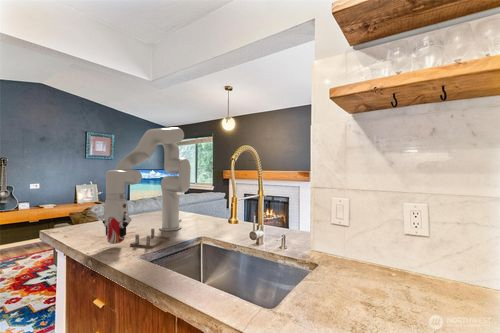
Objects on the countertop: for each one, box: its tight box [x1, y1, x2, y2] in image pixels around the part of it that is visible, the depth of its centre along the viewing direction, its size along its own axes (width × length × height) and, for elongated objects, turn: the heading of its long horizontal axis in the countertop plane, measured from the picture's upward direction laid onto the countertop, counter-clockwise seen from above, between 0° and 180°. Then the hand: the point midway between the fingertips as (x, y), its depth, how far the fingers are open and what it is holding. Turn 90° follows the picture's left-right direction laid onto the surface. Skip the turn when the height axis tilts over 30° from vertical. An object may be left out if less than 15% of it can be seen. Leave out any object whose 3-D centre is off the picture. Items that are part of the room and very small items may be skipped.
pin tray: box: [129, 228, 170, 249], centre depth 121 cm, size 14×12×5 cm
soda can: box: [106, 217, 126, 245], centre depth 114 cm, size 7×7×12 cm
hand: (116, 235), depth 114 cm, fingers closed on soda can, 7 cm apart
